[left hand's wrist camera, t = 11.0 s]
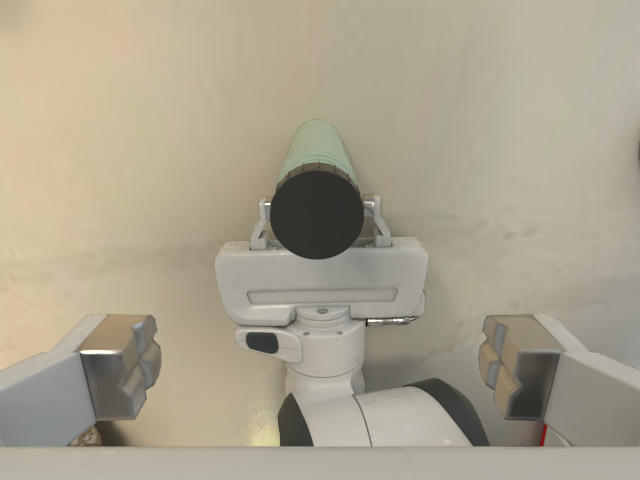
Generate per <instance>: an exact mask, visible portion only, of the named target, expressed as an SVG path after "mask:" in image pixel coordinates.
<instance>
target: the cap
mask: <svg viewBox="0 0 640 480" xmlns="http://www.w3.org/2000/svg"><path fill="white" fill-rule="evenodd" d="M359 194H360V191H359V189H358V186H356V185H355V183H354V181H353V180H352V179H351V178H350V176H349V174H348V173H347V174H346V173H345V172H344V171H343V170H341V169H339V168H338V167H336V165H334V166H333V165H331V164H327V163H320V161H318V162H313V163H307V164H304V163H303V164H302V165H301V166H298V167H296V168H294V169H293V170H291V171H290V170H289V171H288V173H287V174H286V175H285V176H284V178H283V179H282V180H281V182H278V185H277V187H276V192H275V195H274V196H273V198H272V200H271V203H270V205H271V207H270V222H271V227H272V230H273V232H274V234H275V236H276V238H277V239H278V241H279V242H280V243H281V244H282V245H283V246H284V247H285V248H286V249H287V250H288V251H290V252H291V253H293V254H295V255H297V256H299V257H302V258H306V259H312V260H322V259H328V258H332V257H334V256H337V255H339V254H341V253H343V252H344V251H346V250H347V249H348V248H349V247H350V246H351V245H352V244H353V243H354V242H355V241H356V239H357V238H358V236H359V234H360V232H361V230H362V226H363V222H364V206H363V203H362V200H361V197H360V195H359Z"/></svg>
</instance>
